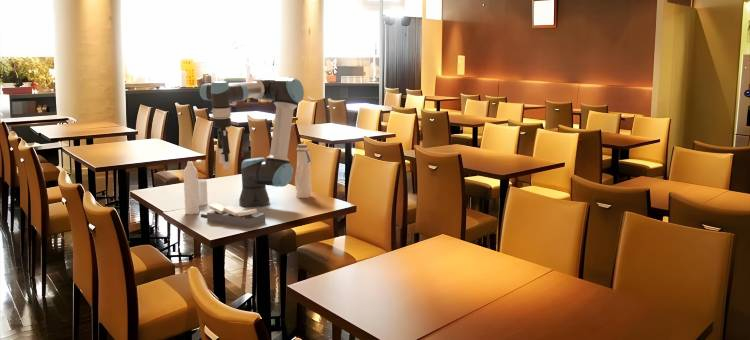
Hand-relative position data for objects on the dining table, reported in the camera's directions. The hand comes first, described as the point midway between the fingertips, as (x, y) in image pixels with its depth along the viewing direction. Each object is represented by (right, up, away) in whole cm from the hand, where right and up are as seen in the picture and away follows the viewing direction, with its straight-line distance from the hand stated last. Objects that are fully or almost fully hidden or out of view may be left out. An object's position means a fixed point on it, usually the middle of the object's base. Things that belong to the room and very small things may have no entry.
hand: (224, 165), depth 268 cm
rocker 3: (+9, -21, +3) cm, 23 cm away
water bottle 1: (-20, -22, +24) cm, 39 cm away
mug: (-24, -19, +40) cm, 50 cm away
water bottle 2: (+28, -16, +59) cm, 68 cm away
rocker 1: (-5, -19, +9) cm, 22 cm away
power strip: (-1, -25, +11) cm, 27 cm away
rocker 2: (+2, -20, +6) cm, 21 cm away
